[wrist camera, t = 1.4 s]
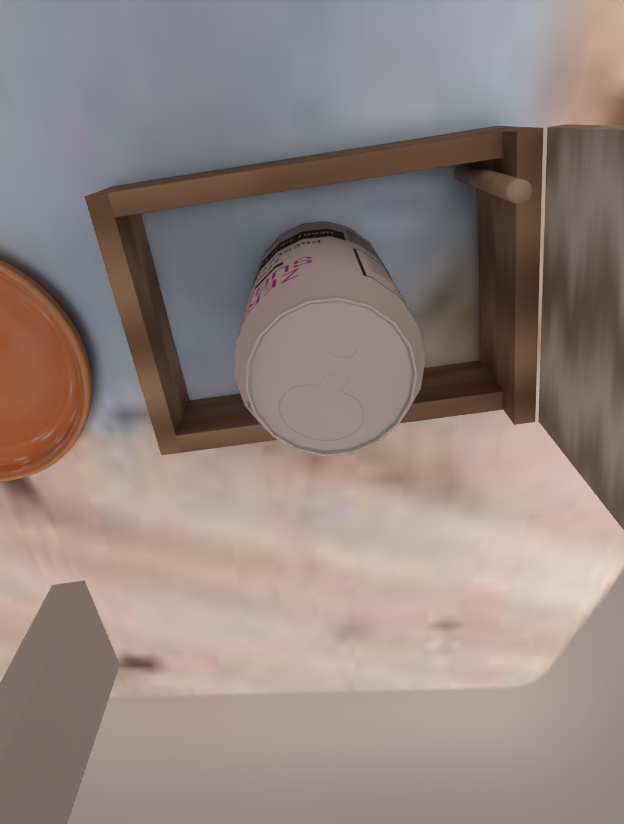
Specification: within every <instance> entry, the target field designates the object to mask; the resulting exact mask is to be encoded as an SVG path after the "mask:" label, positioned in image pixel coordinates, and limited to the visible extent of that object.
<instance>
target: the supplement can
mask: <svg viewBox="0 0 624 824" xmlns="http://www.w3.org/2000/svg"><path fill="white" fill-rule="evenodd" d="M425 360H426V357H425V352H424V347H423V343H422V338H421V333H420V328H419V326H418V324H417V323H416V321H415V319H414V317H413V315H412V314H411V312H410V310H409V308H408V307H407V305H406V303H405V301H404V299H403V298H402V296H401V294H400V292H399V291H398V289H397V287H396V285H395V284H394V282H393V280H392V278H391V276H390V275H389V273H388V271H387V269H386V268H385V266H384V264H383V262H382V261H381V259H380V258H379V256H378V255H377V253H376V252H375V250H374V249H373V247H372V246H371V244H370V242H369V241H367V240H366V239H364V238H363V237H362V236H360V235H359V234H357V233H356V232H355V231H353V230H352V229H350V228H348V227H344V226H340V225H336V224H333V223H329V222H321V223H312V224H302V225H300V226H298V227H296V228H294V229H292V230H290V231H288V232H286V233H284V234H282V235H281V236H280V237H279V238H278V239H277V240H276V241H275V242H274V243H273V244H272V245H271V246H270V248H269V249H268V250H267V251H266V252H265V253H264V255H263V258H262V260H261V263H260V265H259V268H258V270H257V272H256V275H255V279H254V282H253V286H252V289H251V292H250V296H249V299H248V303H247V306H246V310H245V313H244V317H243V320H242V324H241V327H240V331H239V334H238V337H237V341H236V344H235V373H234V377H235V380H236V383H237V386H238V388H239V391H240V394H241V397H242V399H243V402H244V405H245V407H246V408H247V409H248V410H249V411H250V412H251V414H252V415H253V416H254V417H255V418H256V419H257V421H258V422H259V423H260V424H261V425H262V426H263V428H264V429H265V430H267V431H268V432H269V433H270V434H271V435H272V436H273V437H274V438H276V439H278V440H280V441H281V442H283V443H285V444H286V445H288V446H290V447H292V448H293V449H295V450H297V451H302V452H307V453H311V454H316V455H321V456H332V455H342V454H352V453H355V452H357V451H359V450H362V449H364V448H367V447H369V446H371V445H374V444H376V443H378V442H379V441H381V440H382V439H383V438H384V437H385V436H386V435H388V434H389V433H390V432H391V431H392V430H393V429H395V428H396V427H397V426H398V425H399V424H400V422H401V420H402V419H403V417H404V416H405V415H406V413H407V412H408V410H409V408H410V406H411V405H412V403H413V401H414V399H415V398H416V396H417V394H418V393H419V391H420V389H421V383H422V378H423V372H424V366H425Z"/></svg>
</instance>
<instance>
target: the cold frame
mask: <svg viewBox="0 0 624 824" xmlns="http://www.w3.org/2000/svg"><path fill="white" fill-rule="evenodd" d="M542 155H543V128H532V127H509V126H495V127H489V128H482V129H476V130H470V131H463V132H457V133H450V134H444V135H438V136H431V137H425V138H419V139H412V140H406V141H399V142H393V143H387V144H380V145H374V146H368V147H361V148H355V149H348V150H342V151H336V152H329V153H323V154H316V155H310V156H304V157H297V158H291V159H285V160H278V161H272V162H265V163H259V164H253V165H246V166H240V167H233V168H227V169H221V170H214V171H208V172H202V173H195V174H189V175H182V176H176V177H170V178H163V179H157V180H150V181H144V182H138V183H131V184H125V185H119V186H112V187H110V188H107V189H104V190H102V191H99V192H96V193H93V194H91V195H88V196H85V199H86V202H87V206H88V209H89V212H90V216H91V219H92V223H93V226H94V229H95V233H96V236H97V239H98V243H99V246H100V250H101V253H102V256H103V260H104V263H105V266H106V270H107V273H108V276H109V280H110V283H111V287H112V290H113V293H114V297H115V300H116V303H117V307H118V310H119V314H120V317H121V320H122V324H123V327H124V330H125V334H126V337H127V341H128V344H129V347H130V351H131V354H132V357H133V361H134V364H135V367H136V371H137V374H138V378H139V381H140V384H141V388H142V391H143V394H144V398H145V401H146V405H147V408H148V411H149V415H150V418H151V421H152V425H153V428H154V431H155V435H156V438H157V442H158V445H159V448H160V452H161V455H166V454H174V453H181V452H189V451H196V450H204V449H211V448H219V447H226V446H234V445H241V444H248V443H256V442H263V441H271V440H278V439H276V438H274V437H273V436H272V435H271V434H270V433H269V432H268V431H267V430H265V429H264V428H263V426H262V425H261V424H260V423H259V422H258V421H257V419H256V418H255V417H254V416H253V415H252V414H251V412H250V411H249V410H248V409H247V408H246V407H245V405H244V402H243V399H242V397H241V394H237V395H229V396H222V397H215V398H208V399H201V400H193V401H189V398H188V394H187V390H186V386H185V382H184V378H183V375H182V371H181V367H180V363H179V359H178V355H177V352H176V348H175V344H174V340H173V336H172V332H171V328H170V325H169V321H168V317H167V313H166V309H165V305H164V302H163V298H162V294H161V290H160V286H159V282H158V279H157V275H156V271H155V267H154V263H153V259H152V255H151V252H150V248H149V244H148V240H147V236H146V232H145V229H144V225H143V221H142V217H141V213H146V212H153V211H159V210H166V209H172V208H179V207H185V206H192V205H198V204H205V203H211V202H218V201H224V200H231V199H237V198H244V197H250V196H257V195H263V194H270V193H276V192H283V191H289V190H296V189H302V188H309V187H315V186H321V185H328V184H334V183H341V182H347V181H354V180H360V179H367V178H373V177H380V176H386V175H393V174H399V173H406V172H412V171H419V170H425V169H432V168H438V167H445V166H451V165H458V164H461V165H459V166H458V167H457V169H456V171H455V176H456V179H457V180H458V181H460V182H463V183H465V184H468V185H470V186H473V187H475V188H478V229H479V286H480V344H481V361H476V362H469V363H461V364H454V365H447V366H440V367H432V368H425V369H424V372H423V378H422V383H421V389H420V391H419V393H418V394H417V396H416V398H415V399H414V401H413V403H412V405H411V406H410V408H409V410H408V412H407V413H406V415H405V416H404V417H403V419H402V420H401V422H400V423H405V422H413V421H420V420H428V419H435V418H443V417H450V416H458V415H465V414H473V413H480V412H487V411H495V410H502V409H504V411H505V412H506V414H507V415H508V417H509V418H510V419H511V421H512V422H513V424H514V425H515V424H523V423H530V422H535V409H536V373H537V336H538V300H539V264H540V227H541V191H542ZM471 162H477V167H476V166H473V165H469V164H464V163H471ZM539 422H540V424H541V425H542V426H543V428H544V429H545V430H546V431H547V433H548V434H549V435H550V436H551V438H552V439H553V440H554V442H555V443H556V444H557V445H558V447H559V448H560V449H561V451H562V452H563V453H564V454H565V456H566V457H567V458H568V459H569V461H570V462H571V463H572V465H573V466H574V467H575V468H576V470H577V471H578V472H579V474H580V475H581V476H582V477H583V479H584V480H585V481H586V482H587V484H588V485H589V486H590V488H591V489H592V490H593V491H594V493H595V494H596V495H597V496H598V498H599V499H600V500H601V502H602V503H603V504H604V505H605V507H606V508H607V509H608V511H609V512H610V513H611V514H612V516H613V517H614V518H615V519H616V521H617V522H618V523H619V525H620V526H621V527H622V528H623V530H624V126H602V125H559V126H553V127H548V131H547V164H546V197H545V230H544V262H543V295H542V328H541V361H540V394H539Z"/></svg>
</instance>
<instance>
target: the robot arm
mask: <svg viewBox="0 0 624 824" xmlns="http://www.w3.org/2000/svg"><path fill="white" fill-rule="evenodd" d="M119 665H120V664H119V662H118V659H117V657H116V654H115V652H114V650H113V647H112V645H111V643H110V640H109V638H108V635H107V633H106V631H105V628H104V626H103V624H102V621H101V619H100V616H99V614H98V612H97V609H96V607H95V605H94V602H93V600H92V597H91V595H90V593H89V590H88V588H87V586H86V583H85V581H79V582H71V583H64V584H56V585H52V586H51V588H50V590H49V592H48V594H47V596H46V598H45V600H44V602H43V603H42V605H41V607H40V609H39V611H38V613H37V615H36V617H35V618H34V620H33V622H32V624H31V626H30V628H29V630H28V632H27V634H26V635H25V637H24V639H23V641H22V643H21V645H20V647H19V649H18V650H17V652H16V654H15V656H14V658H13V660H12V662H11V664H10V666H9V667H8V669H7V671H6V673H5V675H4V677H3V679H2V681H1V682H0V824H67V823H68V819H69V817H70V814H71V811H72V807H73V804H74V801H75V798H76V795H77V792H78V789H79V786H80V783H81V780H82V777H83V774H84V771H85V768H86V765H87V762H88V759H89V756H90V753H91V750H92V747H93V744H94V741H95V738H96V735H97V732H98V729H99V726H100V723H101V720H102V717H103V714H104V711H105V708H106V705H107V702H108V699H109V696H110V693H111V690H112V687H113V683H114V680H115V677H116V674H117V671H118V668H119Z"/></svg>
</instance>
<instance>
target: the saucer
mask: <svg viewBox="0 0 624 824" xmlns="http://www.w3.org/2000/svg"><path fill="white" fill-rule="evenodd" d="M91 401H92V373H91V367H90V363H89V358H88V355H87V352H86V349H85V347H84V344H83V342H82V340H81V337H80V335H79V333H78V331H77V330H76V328H75V326H74V324H73V323H72V321H71V320H70V318H69V317H68V315H67V314H66V313H65V311H64V310H63V309H62V308H61V306H60V305H59V304H58V303H57V302H56V300H55V299H54V298H53V297H52V296H51V295H50V294H49V293H48V292H47V291H46V290H45V289H43V288H42V287H41V286H40V285H39V284H38V283H37V282H35V281H34V280H33V279H31V278H30V277H29V276H27V275H26V274H24V273H23V272H21V271H20V270H18V269H17V268H15V267H13V266H11V265H10V264H8V263H6V262H4V261H2V260H0V481H9V480H15V479H20V478H24V477H27V476H30V475H33V474H35V473H38V472H40V471H42V470H44V469H46V468H48V467H50V466H51V465H53V464H54V463H56V462H57V461H58V460H59V459H61V458H62V457H63V456H64V455H65V454H66V453H67V452H68V451H69V450H70V449H71V447H72V446H73V445H74V443H75V442H76V441H77V439H78V437H79V436H80V434H81V432H82V430H83V428H84V425H85V423H86V420H87V418H88V415H89V411H90V407H91Z"/></svg>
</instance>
